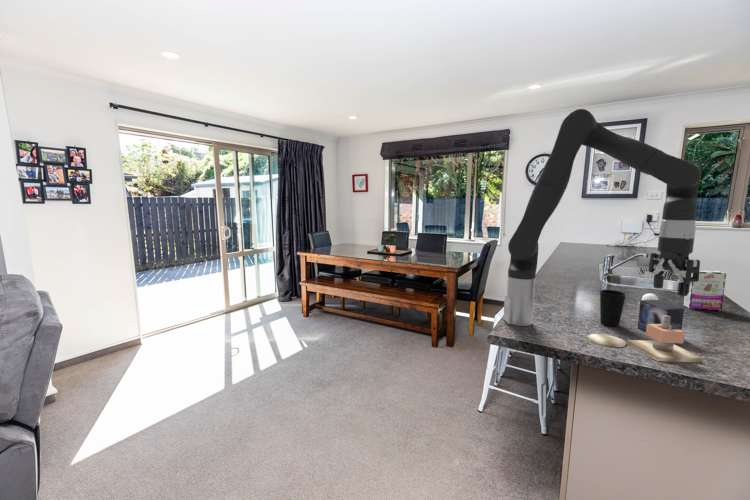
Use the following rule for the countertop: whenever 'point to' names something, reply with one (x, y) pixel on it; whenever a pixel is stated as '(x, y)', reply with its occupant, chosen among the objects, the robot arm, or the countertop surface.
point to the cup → (611, 307)
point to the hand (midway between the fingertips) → (669, 291)
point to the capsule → (649, 297)
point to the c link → (664, 334)
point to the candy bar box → (706, 291)
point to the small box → (659, 314)
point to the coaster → (607, 340)
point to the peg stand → (664, 348)
